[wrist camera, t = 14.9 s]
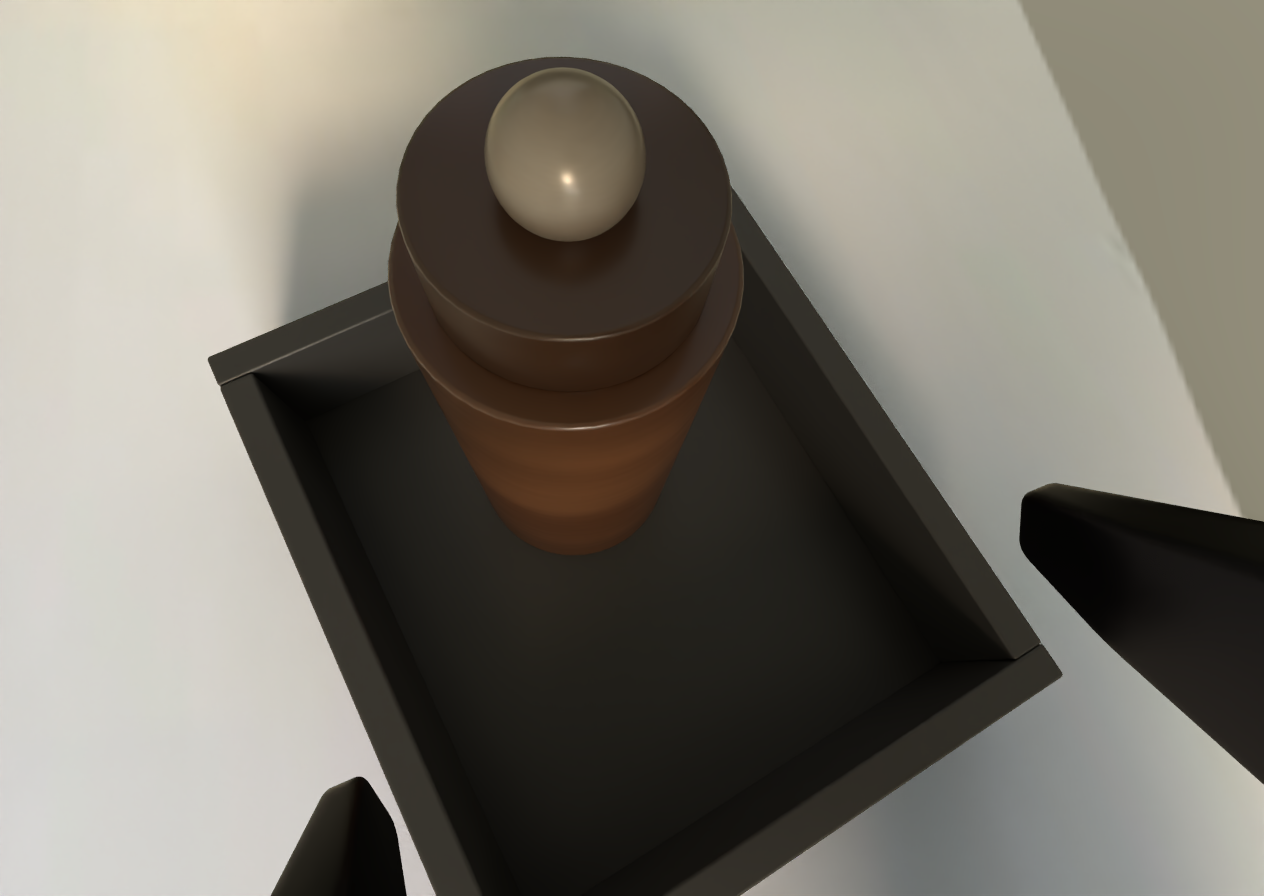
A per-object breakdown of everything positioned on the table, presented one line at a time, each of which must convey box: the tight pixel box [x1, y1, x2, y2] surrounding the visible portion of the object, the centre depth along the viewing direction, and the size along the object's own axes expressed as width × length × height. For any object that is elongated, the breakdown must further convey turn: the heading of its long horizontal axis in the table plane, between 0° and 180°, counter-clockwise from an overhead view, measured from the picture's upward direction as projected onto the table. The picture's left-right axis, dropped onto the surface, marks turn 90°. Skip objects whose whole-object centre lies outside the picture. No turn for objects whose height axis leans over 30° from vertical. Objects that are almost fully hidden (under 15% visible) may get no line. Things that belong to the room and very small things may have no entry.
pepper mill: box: [388, 57, 744, 555], centre depth 14 cm, size 5×5×14 cm
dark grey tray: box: [208, 185, 1063, 896], centre depth 18 cm, size 16×14×4 cm
